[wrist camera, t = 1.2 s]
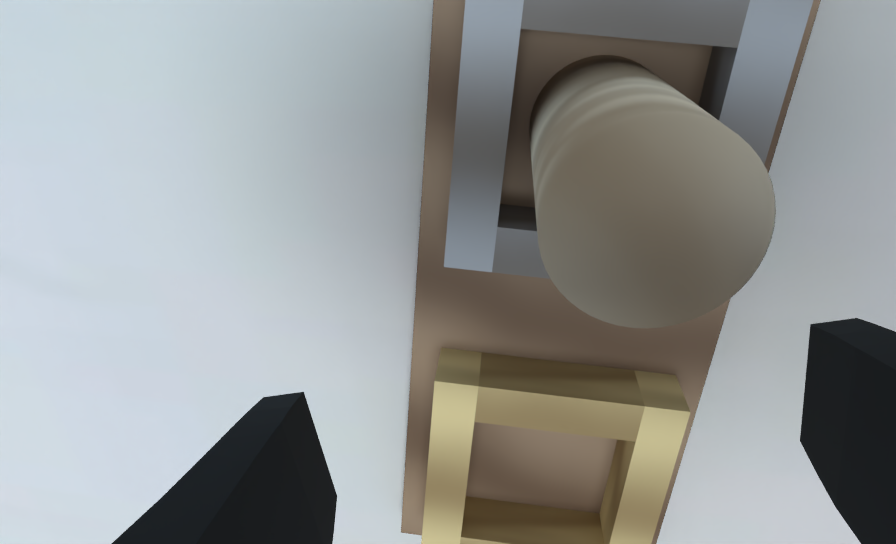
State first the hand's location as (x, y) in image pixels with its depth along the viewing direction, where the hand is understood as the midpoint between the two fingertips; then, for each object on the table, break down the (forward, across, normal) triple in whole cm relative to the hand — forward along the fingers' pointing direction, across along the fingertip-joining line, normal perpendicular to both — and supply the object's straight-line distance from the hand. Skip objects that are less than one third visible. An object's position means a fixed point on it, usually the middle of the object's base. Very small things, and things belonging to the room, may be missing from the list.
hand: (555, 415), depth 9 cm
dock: (+12, -2, +5) cm, 13 cm away
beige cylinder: (+11, -3, -1) cm, 11 cm away
